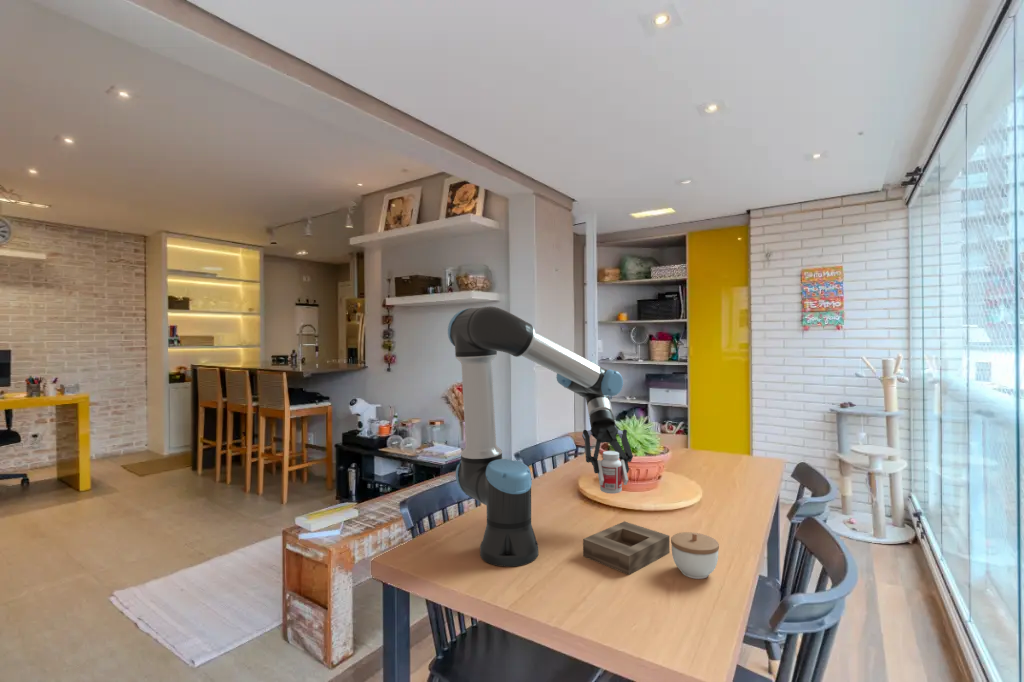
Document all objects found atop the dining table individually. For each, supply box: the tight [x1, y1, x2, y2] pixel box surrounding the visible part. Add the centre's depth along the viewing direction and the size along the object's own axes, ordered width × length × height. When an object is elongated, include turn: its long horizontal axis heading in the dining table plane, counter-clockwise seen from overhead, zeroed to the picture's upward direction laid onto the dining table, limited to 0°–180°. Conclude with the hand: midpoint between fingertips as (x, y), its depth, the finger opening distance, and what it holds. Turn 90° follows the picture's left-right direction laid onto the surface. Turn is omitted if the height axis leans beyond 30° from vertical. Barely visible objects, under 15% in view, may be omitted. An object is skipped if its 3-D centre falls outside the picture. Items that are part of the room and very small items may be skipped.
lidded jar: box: [670, 531, 720, 580], centre depth 121 cm, size 11×11×9 cm
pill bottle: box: [599, 450, 623, 495], centre depth 146 cm, size 6×6×11 cm
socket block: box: [582, 520, 671, 576], centre depth 131 cm, size 18×14×4 cm
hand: (614, 482), depth 143 cm, fingers closed on pill bottle, 6 cm apart
